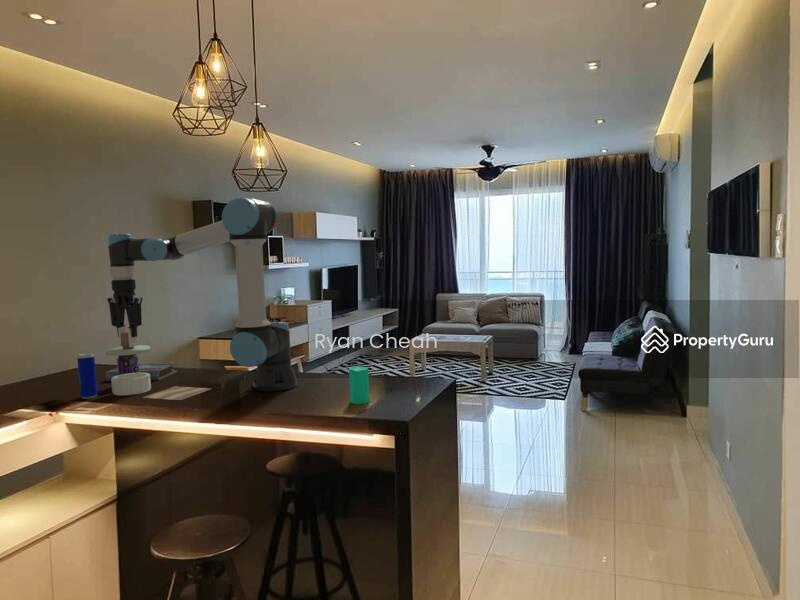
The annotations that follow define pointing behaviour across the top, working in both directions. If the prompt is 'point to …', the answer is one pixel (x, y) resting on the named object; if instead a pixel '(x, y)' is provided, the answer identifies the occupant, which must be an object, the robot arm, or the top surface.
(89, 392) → the beverage can
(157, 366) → the book
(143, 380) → the bowl
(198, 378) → the top surface
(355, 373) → the candle
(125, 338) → the lid
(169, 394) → the trivet
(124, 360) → the beverage can
